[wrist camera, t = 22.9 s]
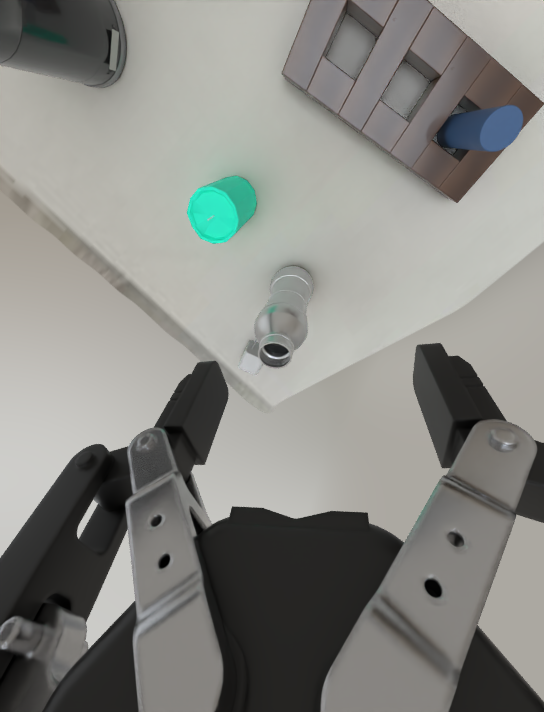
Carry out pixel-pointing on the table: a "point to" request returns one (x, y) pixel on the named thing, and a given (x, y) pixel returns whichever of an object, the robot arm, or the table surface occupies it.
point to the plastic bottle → (284, 317)
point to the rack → (396, 42)
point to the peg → (482, 129)
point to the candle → (221, 208)
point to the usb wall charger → (251, 359)
